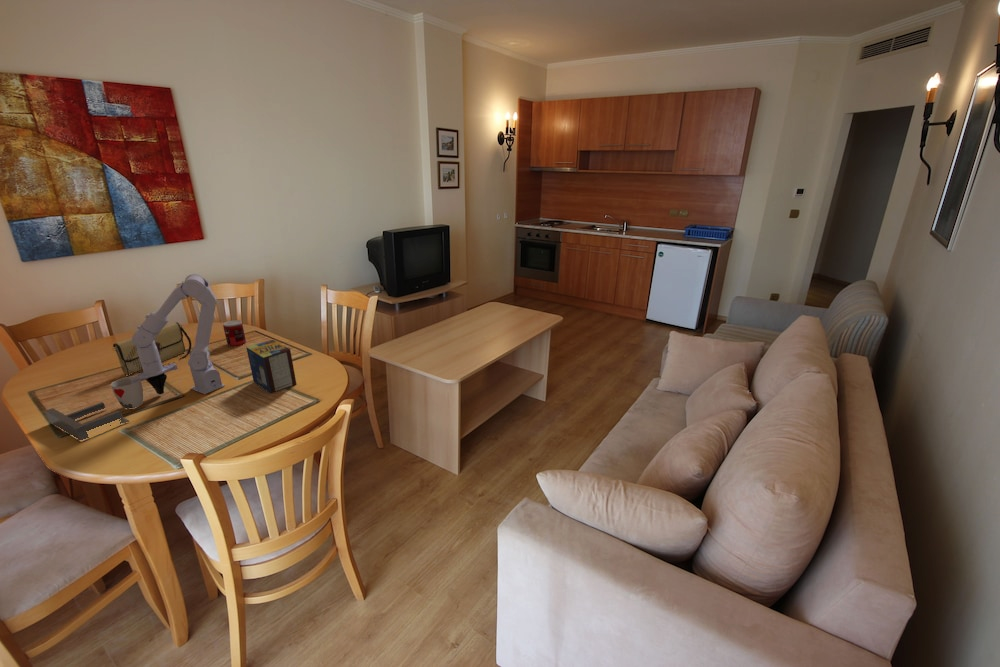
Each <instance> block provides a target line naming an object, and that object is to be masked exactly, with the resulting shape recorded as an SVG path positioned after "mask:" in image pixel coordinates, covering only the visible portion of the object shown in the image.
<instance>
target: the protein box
mask: <svg viewBox="0 0 1000 667" xmlns="http://www.w3.org/2000/svg"><path fill="white" fill-rule="evenodd" d="M246 352H247V358H248V362H249V365H250V370H251V376H252V380H253V383H254V384H256V385H258V386H259V385H260V386H259V387H261V388H262V389H263V388H264V390H265V391H266V390H267V391H266V392H267V393H271V394H274V393H276V391H277V392H278V390H280V391H282V390H285V389H287V388H291V387H293V386H296V385H297V379H296V372H295V368H294V363H293V358H292V357H293V356H292V352H291V348H289V347H287V346H285V345H283V344H281V343H279V342H278V341H275V340H274V339H271V340H266V341H262V342H260V343H255V344H251V345H249V346H246ZM273 392H274V393H273Z"/></svg>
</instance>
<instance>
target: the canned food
mask: <svg viewBox="0 0 1000 667" xmlns="http://www.w3.org/2000/svg"><path fill="white" fill-rule="evenodd" d="M243 325H244V324H243V322H242V320H237V319H235V320H228V321H225V322H224V323H222V327H223V330H224V336H225V339H226V344H227V345H228V347H231V346H236V347H241V346H243V344H244V345H245V344H246V342H247V340H246V335H245V334H246V333H245V330H244V326H243ZM240 345H241V346H240Z"/></svg>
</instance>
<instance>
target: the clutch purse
mask: <svg viewBox="0 0 1000 667" xmlns="http://www.w3.org/2000/svg"><path fill="white" fill-rule="evenodd" d="M184 336H185V337H186V340H187V342H188V350H187V353H186V347H185V343H184ZM154 340H155V344H156V346H157V349H158V352H159V356H160V359H161V363H162V362H165V361H167V359H168V360H170V359H172V358H175V357H176V356H179V354H180V355H181V354H184V352H185V353H186V354H184V355H183V356H181V357H180V358H179V359H181V358H183V359H184V358H186V357H187V356H188V355H189V354H190V353H191V351H192V340H191V338H190V337H189V336H188V334H187V332H186V331H185V329H184V328H183V325H182V324H180V323H179V322H174V323H171V324H167V325H165V326H164V327H163V329H162V330H161V331H160V332H159V334H158V335H156V336H155V338H154ZM112 347H113V348H112V349H111V350H112V351H114V352H115V353H116V355H117V359H118V361H119V364H120V367H121V370H122V373H123V374H124V375H125V374H126V375H129V374H131V373H134V374H141V373H143V372H144V371H143V370H142V369H143V368H142V365H141V362H140V359H139V355H138V352H137V348H136V346H135V345H134V344H133V343H132V337H131V338H128V339H124V340H122V341H118V342H115V343H113V344H112ZM174 356H175V357H174ZM181 360H182V359H181ZM164 365H165V364H162V366H164ZM139 370H141V371H139ZM137 371H139V372H137ZM129 376H130V375H129Z"/></svg>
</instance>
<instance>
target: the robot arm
mask: <svg viewBox="0 0 1000 667" xmlns="http://www.w3.org/2000/svg"><path fill="white" fill-rule="evenodd" d="M189 298H193V299H194V300H196V301H197V302H198V303H199V304H200V305H201V306H200V310H199V311H200V312H199V316H198V323H197V328H196V335H195V341H194V345H193V348H191V350H190V353H189V354H190V355H189V358H188V361H187V364H188V367H189V368H190V372H191V376H192V381H193V384H194V386H191V387H190V389H191V390H193V391H196V392H198V393H201V394H202V395H206V394H208V393H211V392H213V391H216V390H219V389H221V388H223V387H226V384H224V383H222V379H221V378H222V377H221V374H220V372H219V371H218V370H217V369H216V368H215V367H214V365H213V362H212V361H211V360H210V355H211V353H210V352H211V351H210V350H209V346H210V340H211V335H212V334H211V333H212V330H213V329H212V327H213V324H214V319H215V318H214V316H215V314H216V313H215V312H216V307H217V302H218V300H217V297H216V295H215V293H214V291H213V289H212V288H211V285H210V282H208V281H207V280H206V279H205V278H204V277H203V276H202V275H200V274H196V273H193V274H189V275H186V277H185V279H184V281H181V282H180V283H179V284H178V285H177V286H176V287H175V288H174V289H173V290H172V292H171V293H170V294H169V295H168V297H167V298H166V299H165V301H164V303H163V304H162V305H161V307H160V308H159V309H158V310H155V311H151V312H150V313H147V314H146V315H145V317H144V318H145V319H144V321H143V322H142V323H141V325H138V326H137V327H136V330H135V332H134V333H133V334H132V337H131V338H132V343H133V344H134V345H135V346H136V348H137V352H138V355H139V359H140V362H141V365H142V368H143V370H142V372H143V373H138V374H136V375H135V376H131V377H132V378H130V382H131V383H132V384H133V383H135V382H137V381H138V380H139V379H141V382H142V381H146V382H147V383H148V384H150V385H151V387H152V388H153V389H154V390H155V392H156V394H158V395H163V394H165V384H166V380H167V378H168V376H167V374H166V373H169V372H171V371H176V370H178V365H177V363H172V364H169V365H166V364H165V365H166V366H163V363H162V362H161V359H160V356H159V352H158V349H157V346H156V344H155V340H154V338H155V336H156V335H158V334H159V332H160V331H161V330H162V329H163V327H165V326H167V324H168V323H169V321H170V320H169V317H168V315H169V314H170V313H171V312H172V311H173V310H174V309H175V308H176V306H177V305H178V303H180V302H181V300H186V299H189Z"/></svg>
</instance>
